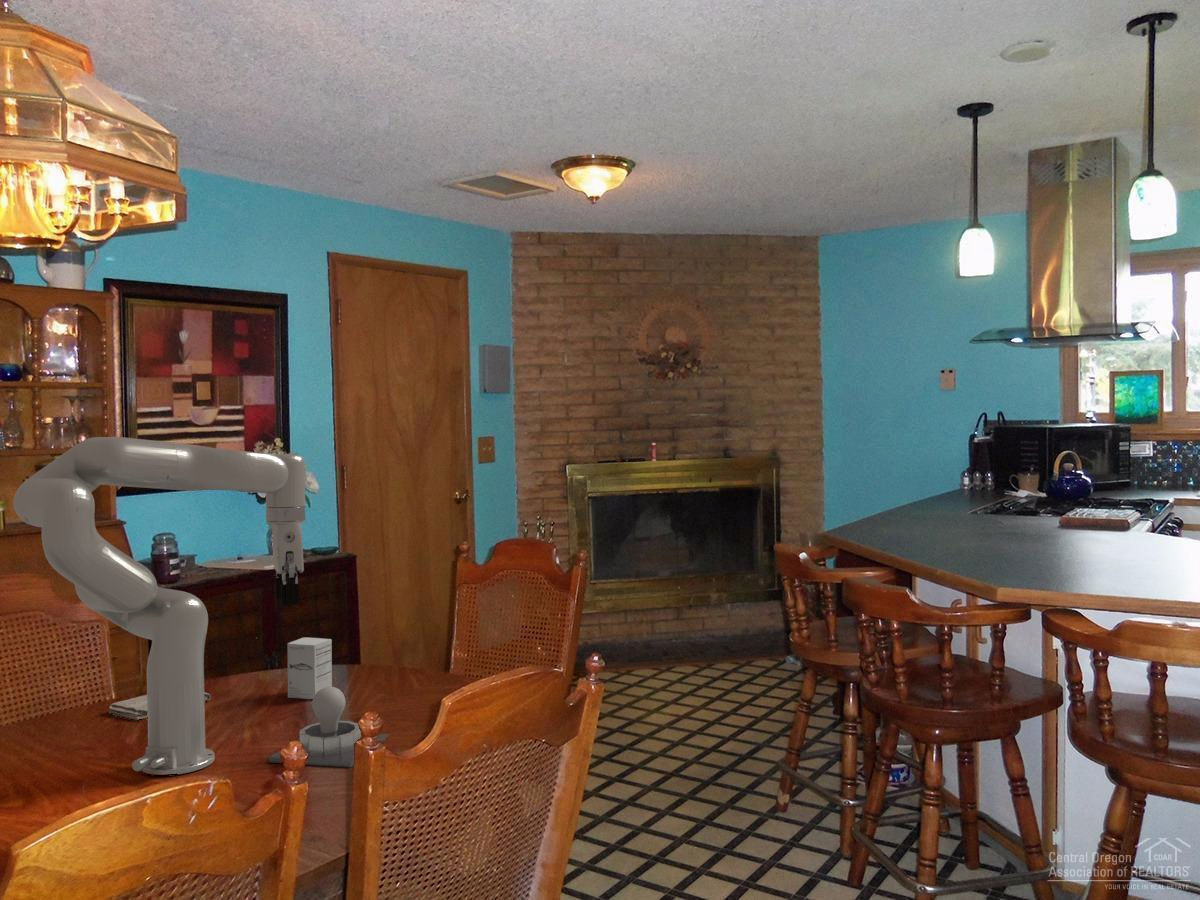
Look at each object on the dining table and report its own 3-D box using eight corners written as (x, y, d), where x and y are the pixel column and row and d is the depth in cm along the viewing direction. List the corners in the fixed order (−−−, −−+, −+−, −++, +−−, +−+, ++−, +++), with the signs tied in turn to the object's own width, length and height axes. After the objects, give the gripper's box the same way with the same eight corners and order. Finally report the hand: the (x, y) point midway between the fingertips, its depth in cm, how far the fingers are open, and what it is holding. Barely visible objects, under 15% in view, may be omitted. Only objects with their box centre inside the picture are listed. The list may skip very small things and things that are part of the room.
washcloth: (104, 716, 207) (104, 702, 207) (178, 696, 223) (177, 683, 223) (138, 724, 201) (138, 709, 201) (212, 703, 217) (211, 689, 217)
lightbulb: (311, 751, 178) (310, 692, 178) (313, 741, 184) (313, 684, 184) (345, 748, 180) (344, 690, 179) (346, 738, 186) (346, 682, 185)
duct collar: (350, 767, 172) (350, 745, 172) (269, 762, 176) (269, 740, 176) (387, 739, 188) (387, 719, 188) (312, 735, 191) (312, 715, 191)
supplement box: (286, 698, 218) (285, 643, 218) (305, 690, 225) (304, 636, 225) (315, 700, 216) (314, 644, 216) (333, 692, 223) (332, 637, 223)
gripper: (311, 518, 186) (312, 606, 187) (299, 511, 202) (300, 593, 202) (271, 519, 183) (272, 609, 184) (261, 513, 199) (262, 595, 199)
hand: (287, 600), depth 193 cm, fingers open, 9 cm apart
